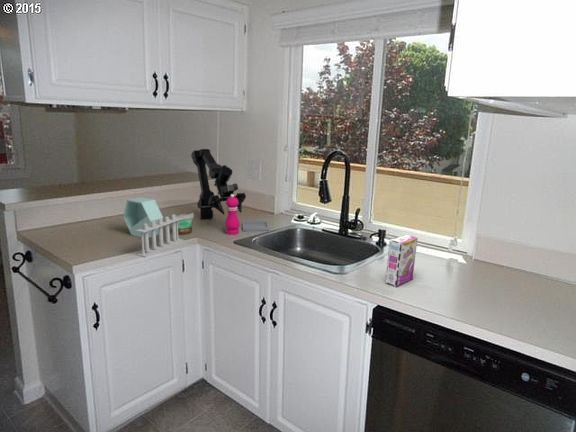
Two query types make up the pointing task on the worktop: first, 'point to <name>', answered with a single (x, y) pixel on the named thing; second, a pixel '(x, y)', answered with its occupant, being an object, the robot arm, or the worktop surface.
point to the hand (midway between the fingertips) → (232, 213)
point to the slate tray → (255, 226)
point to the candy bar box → (401, 260)
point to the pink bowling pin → (232, 216)
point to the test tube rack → (153, 232)
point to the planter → (141, 215)
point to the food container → (184, 223)
